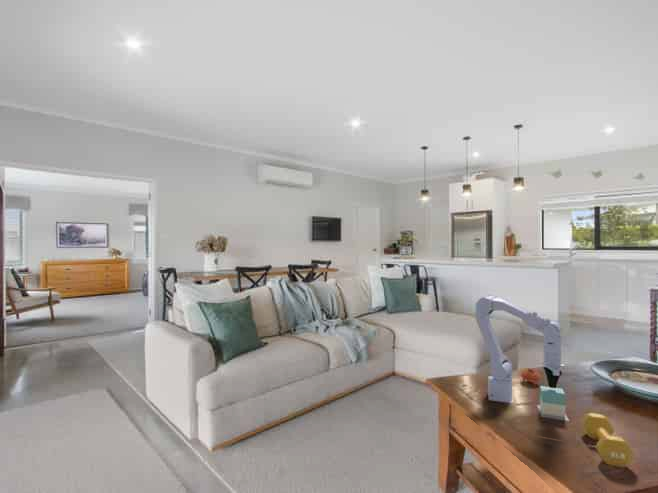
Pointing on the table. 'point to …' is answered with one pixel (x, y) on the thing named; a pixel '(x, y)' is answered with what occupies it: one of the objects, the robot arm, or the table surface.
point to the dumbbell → (607, 440)
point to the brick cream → (552, 409)
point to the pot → (530, 376)
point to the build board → (552, 415)
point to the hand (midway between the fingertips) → (552, 387)
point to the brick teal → (552, 395)
